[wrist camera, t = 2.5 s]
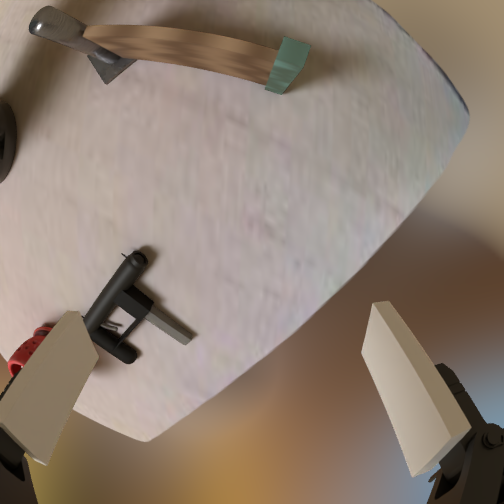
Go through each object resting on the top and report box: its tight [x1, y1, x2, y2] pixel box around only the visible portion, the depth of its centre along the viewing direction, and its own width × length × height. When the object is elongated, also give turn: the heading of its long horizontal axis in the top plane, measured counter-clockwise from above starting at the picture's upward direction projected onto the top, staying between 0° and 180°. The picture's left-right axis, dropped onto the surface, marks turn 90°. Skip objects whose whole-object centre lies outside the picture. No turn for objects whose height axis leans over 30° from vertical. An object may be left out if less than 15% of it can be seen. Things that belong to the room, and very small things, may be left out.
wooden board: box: [83, 25, 311, 95], centre depth 20 cm, size 20×2×13 cm, turn 72°
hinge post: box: [29, 6, 137, 84], centre depth 18 cm, size 6×6×16 cm
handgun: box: [82, 251, 192, 364], centre depth 39 cm, size 3×20×16 cm
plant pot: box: [8, 327, 53, 377], centre depth 38 cm, size 13×13×12 cm
